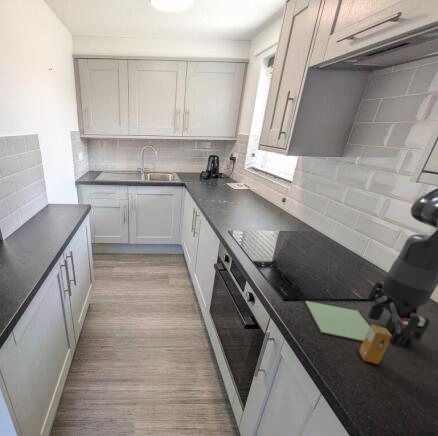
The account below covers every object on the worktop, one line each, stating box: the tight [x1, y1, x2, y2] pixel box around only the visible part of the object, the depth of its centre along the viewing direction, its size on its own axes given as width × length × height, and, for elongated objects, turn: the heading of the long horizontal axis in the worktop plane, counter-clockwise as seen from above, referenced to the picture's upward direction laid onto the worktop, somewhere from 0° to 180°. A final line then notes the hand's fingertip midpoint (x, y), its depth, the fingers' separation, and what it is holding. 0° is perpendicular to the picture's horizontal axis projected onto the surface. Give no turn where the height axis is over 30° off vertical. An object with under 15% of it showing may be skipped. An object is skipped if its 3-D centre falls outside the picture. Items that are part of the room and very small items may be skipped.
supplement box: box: [358, 324, 392, 365], centre depth 61 cm, size 3×3×10 cm
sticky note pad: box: [305, 300, 371, 342], centre depth 75 cm, size 16×14×1 cm
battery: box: [384, 313, 419, 347], centre depth 68 cm, size 4×7×10 cm, turn 141°
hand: (383, 330), depth 59 cm, fingers open, 8 cm apart
